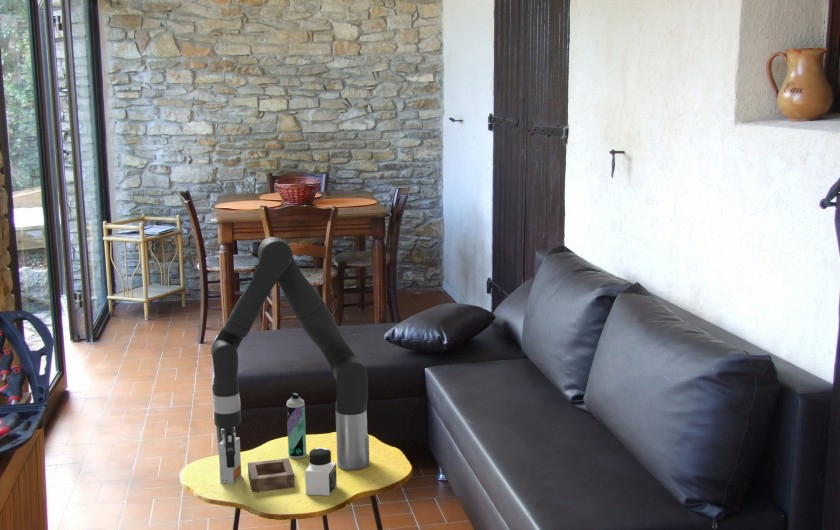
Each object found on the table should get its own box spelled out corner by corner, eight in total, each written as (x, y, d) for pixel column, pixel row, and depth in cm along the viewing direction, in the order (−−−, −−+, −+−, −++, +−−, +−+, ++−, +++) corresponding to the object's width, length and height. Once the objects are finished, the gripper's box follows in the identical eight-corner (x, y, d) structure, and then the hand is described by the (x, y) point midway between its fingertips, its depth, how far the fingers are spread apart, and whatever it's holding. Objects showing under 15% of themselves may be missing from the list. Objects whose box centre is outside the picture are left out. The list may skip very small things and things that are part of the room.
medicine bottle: (330, 496, 247) (328, 455, 245) (305, 494, 249) (303, 454, 246) (337, 485, 254) (335, 445, 252) (312, 484, 255) (311, 444, 253)
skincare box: (233, 484, 256) (231, 444, 254) (220, 483, 257) (217, 443, 255) (242, 475, 262) (240, 437, 260) (228, 474, 263) (226, 436, 260)
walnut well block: (289, 470, 265) (288, 458, 264) (294, 487, 253) (294, 474, 253) (248, 475, 262) (247, 462, 261) (252, 492, 250) (251, 479, 249)
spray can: (291, 451, 279) (288, 390, 275) (308, 452, 278) (306, 391, 275) (286, 458, 274) (283, 396, 270) (303, 459, 273) (301, 396, 269)
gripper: (242, 415, 250) (245, 469, 252) (238, 399, 263) (241, 450, 266) (215, 417, 248) (217, 472, 251) (212, 401, 261) (215, 453, 264)
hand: (229, 461), depth 258 cm, fingers open, 8 cm apart
